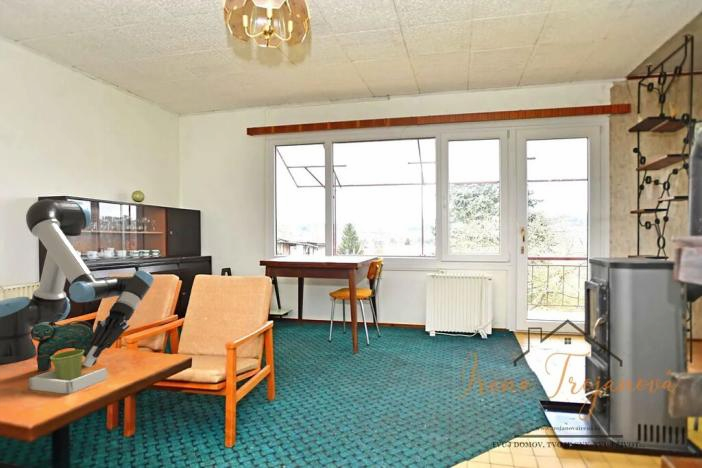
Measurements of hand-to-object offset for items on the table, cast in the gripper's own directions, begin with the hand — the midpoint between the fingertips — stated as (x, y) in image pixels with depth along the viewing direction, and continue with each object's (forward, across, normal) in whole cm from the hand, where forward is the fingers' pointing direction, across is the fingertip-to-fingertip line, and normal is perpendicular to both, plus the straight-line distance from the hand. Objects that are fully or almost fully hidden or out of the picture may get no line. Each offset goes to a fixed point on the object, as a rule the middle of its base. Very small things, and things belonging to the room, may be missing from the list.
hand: (86, 365), depth 140 cm
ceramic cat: (-2, +18, -8) cm, 20 cm away
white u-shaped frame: (+7, 0, +1) cm, 7 cm away
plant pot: (+5, +3, -1) cm, 6 cm away
